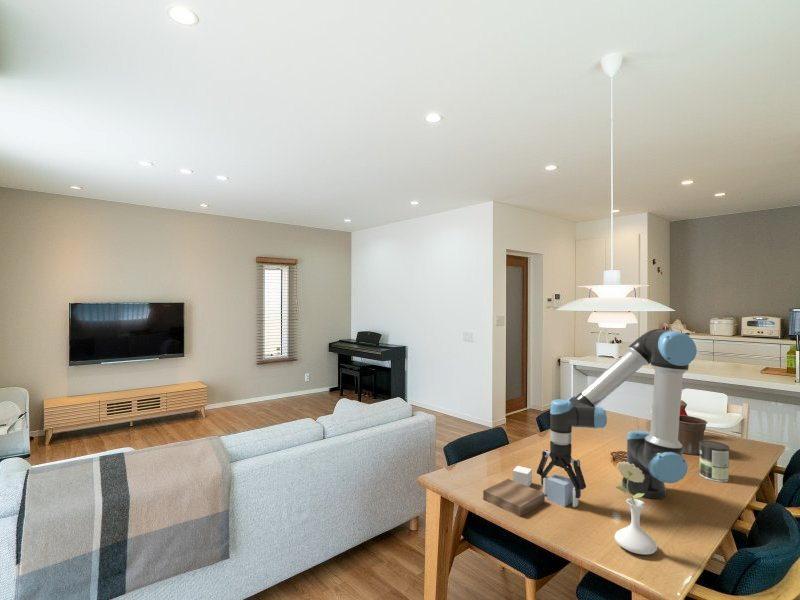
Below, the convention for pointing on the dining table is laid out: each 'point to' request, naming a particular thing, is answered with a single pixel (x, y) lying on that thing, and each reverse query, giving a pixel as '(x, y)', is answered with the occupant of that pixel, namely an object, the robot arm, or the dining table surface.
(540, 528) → the dining table surface
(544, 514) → the dining table surface
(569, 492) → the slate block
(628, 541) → the flower in vase
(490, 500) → the walnut block
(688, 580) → the dining table surface
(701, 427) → the plant pot
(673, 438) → the robot arm
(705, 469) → the coffee can
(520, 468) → the white cube
